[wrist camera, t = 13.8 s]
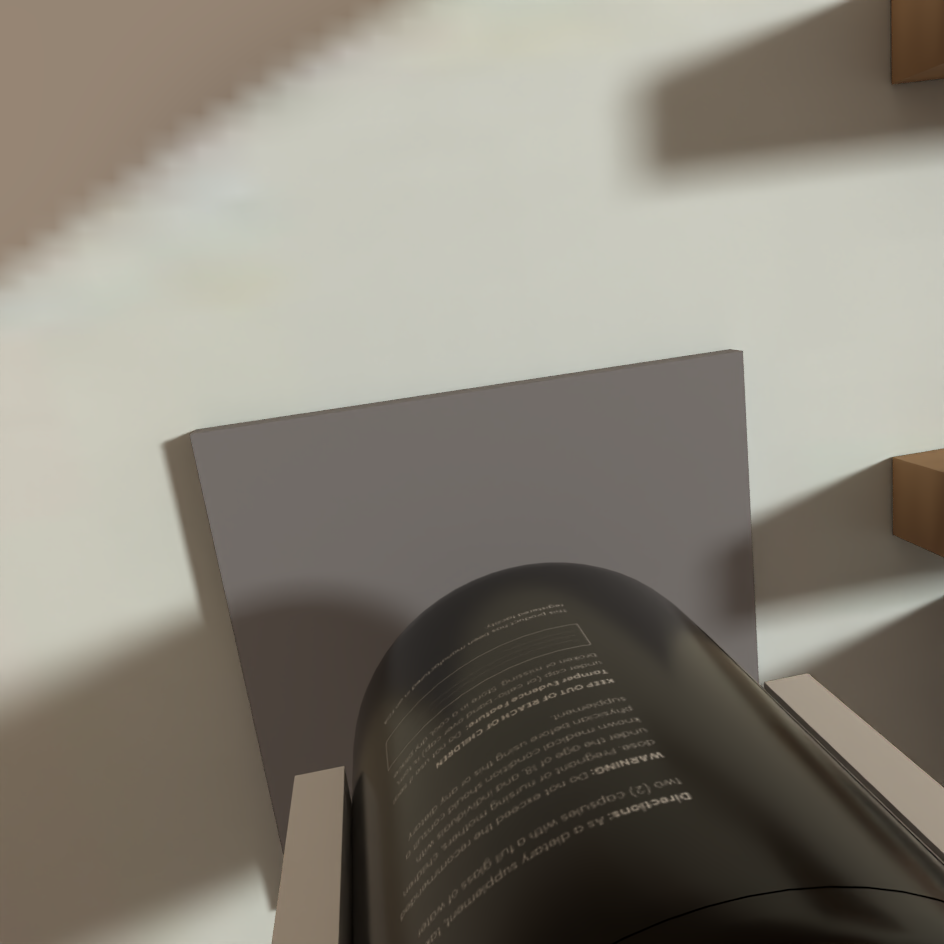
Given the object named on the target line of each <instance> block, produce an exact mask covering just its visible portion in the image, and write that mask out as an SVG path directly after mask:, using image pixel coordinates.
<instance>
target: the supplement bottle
mask: <svg viewBox="0 0 944 944" xmlns="http://www.w3.org/2000/svg"><path fill="white" fill-rule="evenodd" d="M352 944H944V862H943V861H942V860H941V859H940V858H939V857H938V856H937V855H936V854H935V853H934V852H933V851H932V850H931V849H930V848H929V847H927V846H926V845H925V844H924V843H923V842H922V841H921V840H920V839H919V838H918V837H917V836H916V835H915V834H914V833H913V832H912V831H911V830H910V829H909V828H908V827H907V826H906V825H905V824H904V823H903V822H902V821H901V820H899V819H898V818H897V817H896V816H895V815H894V814H893V813H892V812H891V811H890V810H889V809H888V808H887V807H886V806H885V805H884V804H883V803H882V802H881V801H880V800H879V799H878V798H877V797H876V796H875V795H874V794H873V793H871V792H870V791H869V790H868V789H867V788H866V787H865V786H864V785H863V784H862V783H861V782H860V781H859V780H858V779H857V778H856V777H855V776H854V775H853V774H852V773H851V772H850V771H849V770H848V769H847V768H846V767H845V766H843V765H842V764H841V763H840V762H839V761H838V760H837V759H836V758H835V757H834V756H833V755H832V754H831V753H830V752H829V751H828V750H827V749H826V748H825V747H824V746H823V745H822V744H821V743H820V742H819V741H818V740H817V739H816V738H814V737H813V736H812V735H811V734H810V733H809V732H808V731H807V730H806V729H805V728H804V727H803V726H802V725H801V724H800V723H799V722H798V721H797V720H796V719H795V718H794V717H793V716H792V715H791V714H790V713H789V712H788V711H786V710H785V709H784V708H783V707H782V706H781V705H780V704H779V703H778V702H777V701H776V700H775V699H774V698H773V697H772V696H771V695H770V694H769V693H768V692H767V691H766V690H765V689H764V688H763V687H762V686H761V685H760V684H758V683H757V682H756V681H755V680H754V679H753V678H752V677H751V676H750V675H749V674H748V673H747V672H746V671H745V670H744V669H743V668H742V667H741V666H740V665H739V664H738V663H737V662H736V661H735V660H734V659H733V658H732V657H731V656H729V655H728V654H727V653H726V652H725V651H724V650H723V649H722V648H721V647H720V646H719V645H718V644H717V643H716V642H715V641H714V640H713V639H712V638H711V637H710V636H709V635H708V634H707V633H706V632H704V631H703V630H702V629H701V628H700V627H699V626H698V625H697V624H695V623H694V622H693V621H692V620H691V619H690V618H689V617H688V616H687V615H686V614H684V613H683V612H682V611H681V610H680V609H679V608H678V607H677V606H675V605H674V604H673V603H672V602H671V601H669V600H668V599H666V598H665V597H664V596H662V595H661V594H659V593H658V592H656V591H655V590H654V589H652V588H650V587H649V586H647V585H645V584H643V583H641V582H640V581H638V580H636V579H633V578H631V577H629V576H626V575H624V574H621V573H618V572H615V571H612V570H609V569H605V568H601V567H596V566H591V565H586V564H578V563H567V562H545V563H535V564H526V565H521V566H516V567H511V568H507V569H503V570H500V571H497V572H493V573H490V574H487V575H485V576H482V577H480V578H477V579H475V580H472V581H470V582H468V583H466V584H464V585H462V586H460V587H458V588H457V589H455V590H453V591H452V592H450V593H448V594H447V595H445V596H444V597H442V598H440V599H439V600H437V601H436V602H435V603H434V604H432V605H431V606H430V607H428V608H427V609H426V610H424V611H423V612H422V613H421V614H420V615H419V616H418V617H417V618H416V619H414V620H413V621H412V622H411V623H410V624H409V625H408V626H407V627H406V628H405V630H404V631H403V632H402V633H401V634H400V635H399V636H398V637H397V639H396V640H395V641H394V643H393V644H392V645H391V647H390V648H389V649H388V651H387V652H386V654H385V655H384V657H383V658H382V660H381V662H380V663H379V665H378V667H377V668H376V670H375V672H374V674H373V676H372V678H371V680H370V682H369V684H368V686H367V689H366V692H365V694H364V697H363V700H362V703H361V706H360V710H359V714H358V718H357V723H356V730H355V737H354V745H353V776H352Z"/></svg>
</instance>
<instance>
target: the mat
mask: <svg viewBox="0 0 944 944" xmlns="http://www.w3.org/2000/svg"><path fill="white" fill-rule="evenodd" d="M190 439H191V443H192V448H193V452H194V457H195V461H196V466H197V470H198V475H199V479H200V483H201V488H202V492H203V497H204V501H205V506H206V510H207V515H208V519H209V524H210V528H211V533H212V537H213V542H214V546H215V551H216V555H217V559H218V564H219V568H220V573H221V577H222V582H223V586H224V591H225V595H226V600H227V604H228V609H229V613H230V618H231V622H232V626H233V631H234V635H235V640H236V644H237V649H238V653H239V658H240V662H241V667H242V671H243V676H244V680H245V685H246V689H247V694H248V698H249V702H250V707H251V711H252V716H253V720H254V725H255V729H256V734H257V738H258V743H259V747H260V752H261V756H262V761H263V765H264V770H265V774H266V778H267V783H268V787H269V792H270V796H271V801H272V805H273V810H274V814H275V819H276V823H277V828H278V832H279V837H280V841H281V845H282V850H283V854H284V850H285V843H286V836H287V829H288V822H289V814H290V807H291V800H292V793H293V785H294V778H295V776H297V775H302V774H307V773H312V772H317V771H322V770H327V769H332V768H336V767H341V766H345V771H346V776H347V781H348V786H349V791H350V797H351V802H352V776H353V745H354V737H355V730H356V723H357V718H358V714H359V710H360V706H361V703H362V700H363V697H364V694H365V692H366V689H367V686H368V684H369V682H370V680H371V678H372V676H373V674H374V672H375V670H376V668H377V667H378V665H379V663H380V662H381V660H382V658H383V657H384V655H385V654H386V652H387V651H388V649H389V648H390V647H391V645H392V644H393V643H394V641H395V640H396V639H397V637H398V636H399V635H400V634H401V633H402V632H403V631H404V630H405V628H406V627H407V626H408V625H409V624H410V623H411V622H412V621H413V620H414V619H416V618H417V617H418V616H419V615H420V614H421V613H422V612H423V611H424V610H426V609H427V608H428V607H430V606H431V605H432V604H434V603H435V602H436V601H437V600H439V599H440V598H442V597H444V596H445V595H447V594H448V593H450V592H452V591H453V590H455V589H457V588H458V587H460V586H462V585H464V584H466V583H468V582H470V581H472V580H475V579H477V578H480V577H482V576H485V575H487V574H490V573H493V572H497V571H500V570H503V569H507V568H511V567H516V566H521V565H526V564H535V563H545V562H567V563H578V564H586V565H591V566H596V567H601V568H605V569H609V570H612V571H615V572H618V573H621V574H624V575H626V576H629V577H631V578H633V579H636V580H638V581H640V582H641V583H643V584H645V585H647V586H649V587H650V588H652V589H654V590H655V591H656V592H658V593H659V594H661V595H662V596H664V597H665V598H666V599H668V600H669V601H671V602H672V603H673V604H674V605H675V606H677V607H678V608H679V609H680V610H681V611H682V612H683V613H684V614H686V615H687V616H688V617H689V618H690V619H691V620H692V621H693V622H694V623H695V624H697V625H698V626H699V627H700V628H701V629H702V630H703V631H704V632H706V633H707V634H708V635H709V636H710V637H711V638H712V639H713V640H714V641H715V642H716V643H717V644H718V645H719V646H720V647H721V648H722V649H723V650H724V651H725V652H726V653H727V654H728V655H729V656H731V657H732V658H733V659H734V660H735V661H736V662H737V663H738V664H739V665H740V666H741V667H742V668H743V669H744V670H745V671H746V672H747V673H748V674H749V675H750V676H751V677H752V678H753V679H754V680H755V681H756V682H757V683H758V684H759V676H758V655H757V634H756V614H755V593H754V572H753V552H752V531H751V510H750V490H749V469H748V448H747V428H746V407H745V386H744V366H743V351H739V350H732V349H729V350H722V351H716V352H709V353H702V354H696V355H689V356H682V357H676V358H669V359H662V360H656V361H649V362H642V363H636V364H629V365H622V366H616V367H609V368H603V369H596V370H589V371H583V372H576V373H569V374H563V375H556V376H549V377H543V378H536V379H529V380H523V381H516V382H509V383H503V384H496V385H489V386H483V387H476V388H470V389H463V390H456V391H450V392H443V393H436V394H430V395H423V396H416V397H410V398H403V399H396V400H390V401H383V402H376V403H370V404H363V405H357V406H350V407H343V408H337V409H330V410H323V411H317V412H310V413H303V414H297V415H290V416H283V417H277V418H270V419H263V420H257V421H250V422H243V423H237V424H230V425H224V426H217V427H210V428H204V429H197V430H195V431H193V432H192V433H191V434H190Z"/></svg>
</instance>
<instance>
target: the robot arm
mask: <svg viewBox="0 0 944 944" xmlns="http://www.w3.org/2000/svg"><path fill="white" fill-rule="evenodd" d="M764 687H765V690H766V691H767V692H768V693H769V694H770V695H771V696H772V697H773V698H774V699H775V700H776V701H777V702H778V703H779V704H780V705H781V706H782V707H783V708H784V709H785V710H786V711H788V712H789V713H790V714H791V715H792V716H793V717H794V718H795V719H796V720H797V721H798V722H799V723H800V724H801V725H802V726H803V727H804V728H805V729H806V730H807V731H808V732H809V733H810V734H811V735H812V736H813V737H814V738H816V739H817V740H818V741H819V742H820V743H821V744H822V745H823V746H824V747H825V748H826V749H827V750H828V751H829V752H830V753H831V754H832V755H833V756H834V757H835V758H836V759H837V760H838V761H839V762H840V763H841V764H842V765H843V766H845V767H846V768H847V769H848V770H849V771H850V772H851V773H852V774H853V775H854V776H855V777H856V778H857V779H858V780H859V781H860V782H861V783H862V784H863V785H864V786H865V787H866V788H867V789H868V790H869V791H870V792H871V793H873V794H874V795H875V796H876V797H877V798H878V799H879V800H880V801H881V802H882V803H883V804H884V805H885V806H886V807H887V808H888V809H889V810H890V811H891V812H892V813H893V814H894V815H895V816H896V817H897V818H898V819H899V820H901V821H902V822H903V823H904V824H905V825H906V826H907V827H908V828H909V829H910V830H911V831H912V832H913V833H914V834H915V835H916V836H917V837H918V838H919V839H920V840H921V841H922V842H923V843H924V844H925V845H926V846H927V847H929V848H930V849H931V850H932V851H933V852H934V853H935V854H936V855H937V856H938V857H939V858H940V859H941V860H942V861H943V862H944V788H943V787H942V786H941V785H940V784H939V783H938V782H936V781H935V780H934V779H933V778H932V777H930V776H929V775H928V774H927V773H926V772H924V771H923V770H922V769H921V768H920V767H919V766H917V765H916V764H915V763H914V762H913V761H911V760H910V759H909V758H908V757H907V756H905V755H904V754H903V753H902V752H901V751H900V750H898V749H897V748H896V747H895V746H894V745H892V744H891V743H890V742H889V741H888V740H886V739H885V738H884V737H883V736H882V735H881V734H879V733H878V732H877V731H876V730H875V729H873V728H872V727H871V726H870V725H869V724H868V723H866V722H865V721H864V720H863V719H862V718H860V717H859V716H858V715H857V714H856V713H854V712H853V711H852V710H851V709H850V708H849V707H847V706H846V705H845V704H844V703H843V702H841V701H840V700H839V699H838V698H837V697H835V696H834V695H833V694H832V693H831V692H830V691H828V690H827V689H826V688H825V687H824V686H822V685H821V684H820V683H819V682H818V681H816V680H815V679H814V678H813V677H812V676H811V675H809V674H808V673H806V674H801V675H796V676H791V677H786V678H781V679H776V680H771V681H766V682H764ZM272 944H352V802H351V797H350V791H349V786H348V781H347V776H346V771H345V766H341V767H336V768H332V769H327V770H322V771H317V772H312V773H307V774H302V775H297V776H295V778H294V785H293V793H292V800H291V807H290V814H289V822H288V829H287V836H286V843H285V850H284V858H283V865H282V872H281V879H280V887H279V894H278V901H277V908H276V916H275V923H274V930H273V937H272Z"/></svg>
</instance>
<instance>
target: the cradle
mask: <svg viewBox="0 0 944 944" xmlns="http://www.w3.org/2000/svg"><path fill="white" fill-rule="evenodd" d="M891 22H892V84H901V83H909V82H918V81H926V80H935V79H944V0H891ZM893 535H895V536H897V537H899V538H901V539H904V540H906V541H908V542H910V543H913V544H915V545H917V546H919V547H922V548H924V549H926V550H928V551H931V552H933V553H935V554H937V555H940V556H942V557H944V449H938V450H932V451H926V452H921V453H915V454H909V455H903V456H897V457H893Z"/></svg>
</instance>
